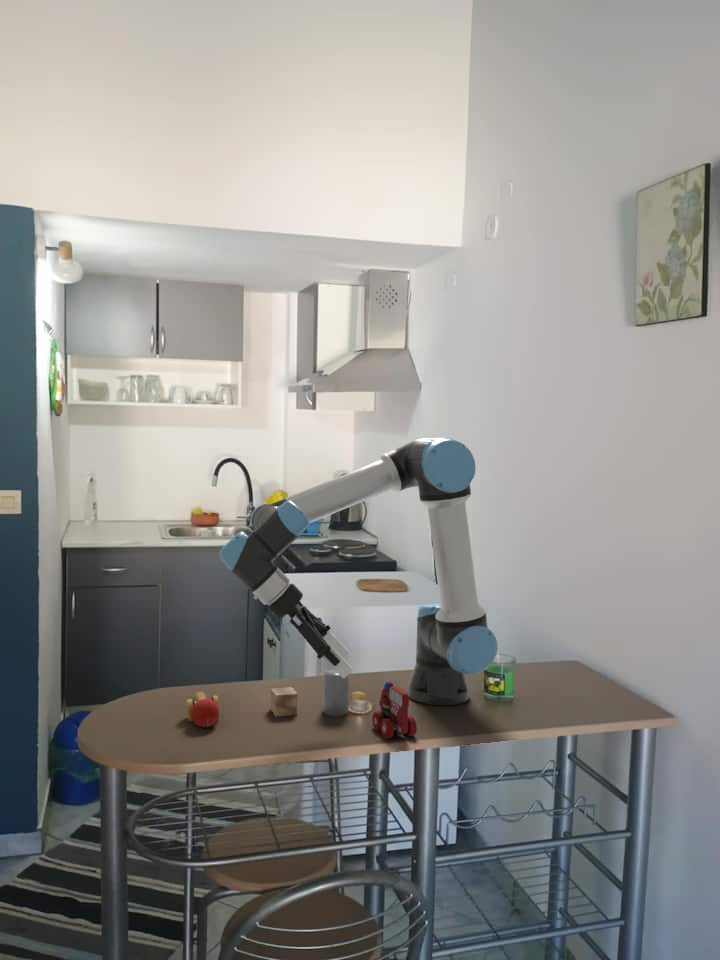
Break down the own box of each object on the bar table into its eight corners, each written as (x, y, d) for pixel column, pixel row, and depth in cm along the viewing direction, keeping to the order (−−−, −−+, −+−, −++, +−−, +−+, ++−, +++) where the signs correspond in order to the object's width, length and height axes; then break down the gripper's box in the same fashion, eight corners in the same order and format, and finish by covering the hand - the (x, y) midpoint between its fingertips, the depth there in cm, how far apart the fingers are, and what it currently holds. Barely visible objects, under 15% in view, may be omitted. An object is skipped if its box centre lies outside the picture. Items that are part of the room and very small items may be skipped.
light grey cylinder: (347, 707, 197) (349, 669, 197) (349, 715, 191) (350, 677, 191) (322, 706, 197) (323, 669, 196) (322, 715, 191) (324, 676, 190)
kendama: (179, 711, 195) (185, 727, 177) (184, 683, 195) (191, 697, 178) (212, 715, 196) (221, 732, 179) (217, 688, 197) (227, 702, 180)
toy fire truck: (396, 721, 189) (398, 675, 189) (419, 740, 178) (421, 692, 177) (367, 724, 187) (369, 678, 186) (389, 744, 175) (391, 695, 175)
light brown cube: (291, 708, 195) (291, 687, 195) (296, 715, 191) (297, 693, 190) (270, 709, 194) (270, 688, 194) (275, 717, 189) (275, 695, 189)
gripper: (267, 594, 191) (331, 660, 193) (263, 619, 166) (336, 694, 168) (292, 572, 191) (355, 638, 193) (290, 593, 166) (363, 669, 168)
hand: (346, 664), depth 180 cm, fingers open, 13 cm apart
